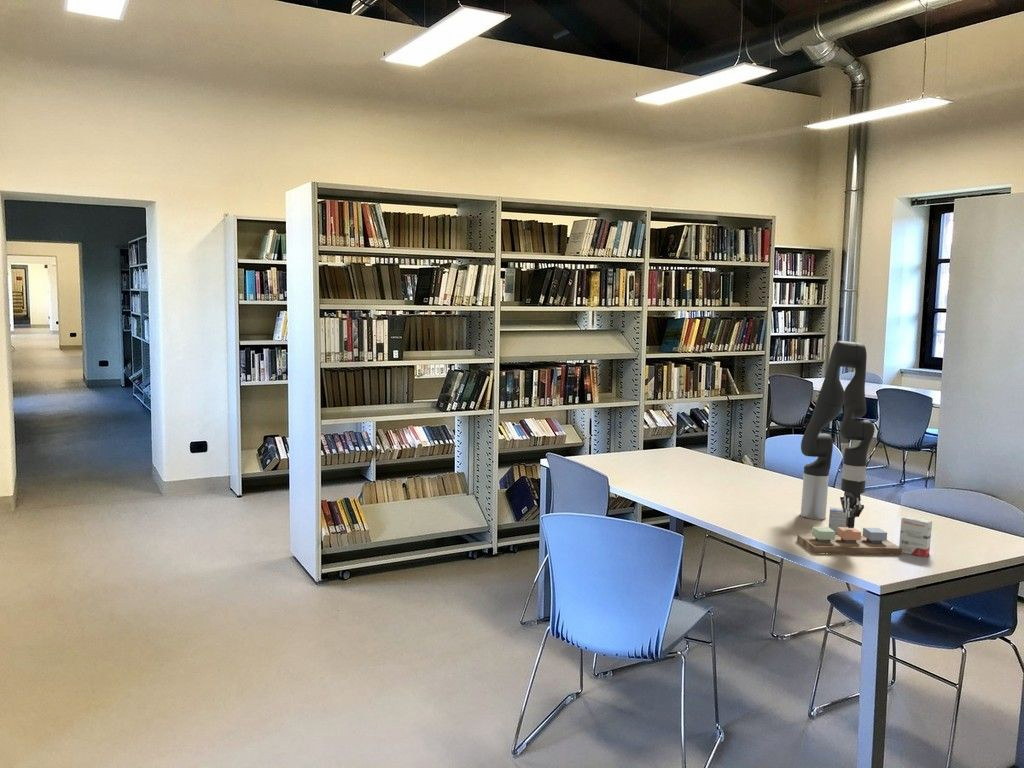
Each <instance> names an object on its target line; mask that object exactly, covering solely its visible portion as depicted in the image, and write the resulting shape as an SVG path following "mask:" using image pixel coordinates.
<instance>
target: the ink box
mask: <svg viewBox="0 0 1024 768" xmlns="http://www.w3.org/2000/svg"><path fill="white" fill-rule="evenodd" d="M932 526H933V521H932V520H929V519H922V518H917V517H913V516H904V517H901V521H900V533H899V545H898V546H899V547H900V548H902V553H905V554H909V555H914V556H918V557H923V558H926V557H928V556H929V555H930V550H931V549H930V548H931V538H932Z"/></svg>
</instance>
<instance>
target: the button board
mask: <svg viewBox="0 0 1024 768" xmlns="http://www.w3.org/2000/svg"><path fill="white" fill-rule="evenodd" d="M796 535H797V538H796V542H797V541H798V543H799V544H800V543H801V544H802V545H801V544H800V545H801V546H803V547H804V546H805V547H806V549H807V548H808V549H809V550H810V551H809V550H808V549H807V550H808V551H809V552H811V551H812V552H813V553H825V554H824V555H850V554H851V555H855V556H857V555H858V556H859V555H860V556H861V555H863V556H865V555H866V556H902V554H903V552H902V548H900V547H899V545H897V544H895V543H893V542H892V541H891V540H888V539H887V541H875V540H869V539H867V538H866V537H864V536H863V535H861V540H844V539H842V538H841V537H839V536H838V535H837V534H835V540H821V539H817V538H816V537H814V536H813V535H812V534H796ZM805 547H804V548H805ZM812 552H811V553H812ZM813 553H812V554H813ZM826 553H828V554H826Z"/></svg>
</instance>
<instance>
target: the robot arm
mask: <svg viewBox="0 0 1024 768" xmlns="http://www.w3.org/2000/svg"><path fill="white" fill-rule="evenodd" d="M867 356H868V355H867V349H866V346H865V345H864V344H863V343H861V342H857V341H854V342H853V341H847V340H846V341H845V340H838V341H836V342H834V345H833V347H832V349H831V352H830V356H829V359H828V364H827V369H826V373H825V375H824V379H823V381H822V382H823V383H822V385H821V388H820V390H819V393H818V396H817V399H816V402H815V406H814V409H813V412H812V415H811V418H810V420H809V423H808V425H807V427H806V429H805V431H804V434H803V436H802V438H801V443H800V451H801V454H802V455H804V456H805V457H813V458H816V459H815V460H814V461H813V462H811V463H810V462H809V463H808V464H805V465H804V468H803V477H802V493H801V503H800V504H801V507H800V516H801V517H802V516H803V518H805V517H806V518H805V519H809V518H811V519H810V520H825V519H826V518H827V505H828V491H829V490H828V488H829V476H830V470H831V466H832V464H831V463H832V456H833V451H834V450H833V449H834V443H833V437H832V435H831V434H830V433H823V432H822V430H823V429H824V428H825V427H826V426H827V425H829V424H830V423H831V422H833V420H835V419H836V418H837V417H838V416H839V415H840V414H841V412H842V409H843V419H842V420H841V425H840V428H839V429H840V431H839V432H840V433H839V434H840V435H841V436H842V438H843V439H845V440H847V441H860V442H859V443H858V444H856V445H852V446H847V447H845V449H844V452H843V454H844V455H843V465H842V471H841V480H840V481H841V483H840V490H841V491H842V492H844V493H843V496H839V497H840V498H839V500H840V504H841V507H842V508H843V512H844V513H846V516H847V518H846V527H848V528H855V522H856V521H855V520H856V518H859V517H860V516H861V513H862V512H863V511H864V508H865V505H864V504H862V503H861V501H862V498H861V495H862V494H864V493H865V492H866V480H867V460H868V459H867V458H868V456H867V455H868V451H869V447H870V445H871V442H872V440H873V437H874V434H875V432H876V431H875V430H876V429H875V424H874V423H873V422H872V421H871V420H868V419H860V418H863V417H864V416H865V415H866V414H867V401H866V391H865V390H866V374H867V359H868V358H867ZM840 368H849V369H850V368H852V369H855V372H854V376H853V377H852V378H851V380H850V382H849V383H848V384H847V385H846V386H845V389H844V387H843V385H842V383H841V380H840V377H839V369H840ZM821 432H822V433H821ZM824 518H825V519H824Z"/></svg>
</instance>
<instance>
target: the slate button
mask: <svg viewBox="0 0 1024 768" xmlns="http://www.w3.org/2000/svg"><path fill="white" fill-rule="evenodd" d="M862 536H864V537H866V538H867V539H869V540H875V541H887V540H888V532H887V531H885V530H883V529H882V528H880V527H863V528H862Z"/></svg>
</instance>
